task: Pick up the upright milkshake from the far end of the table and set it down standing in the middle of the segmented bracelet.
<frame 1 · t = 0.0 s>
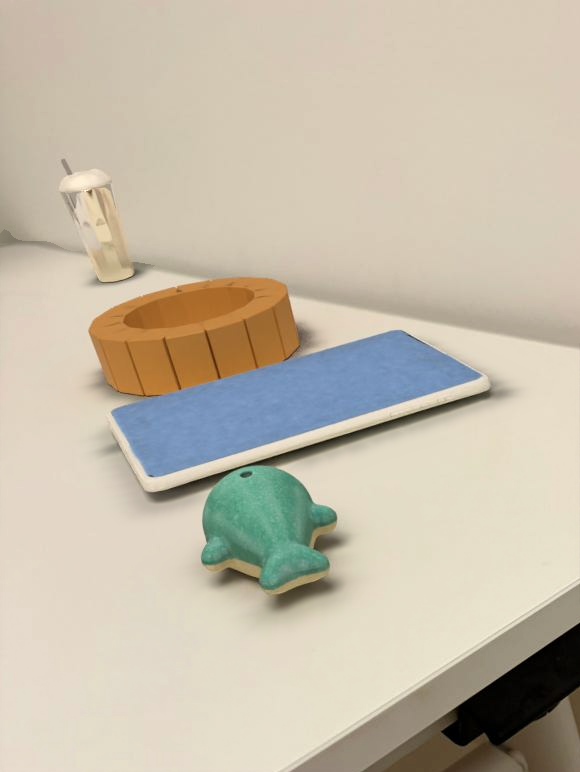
whale figurine: (280, 570, 38), on the table
milkshake: (116, 279, 86), on the table
tablet: (298, 417, 52), on the table
segmented bracelet: (205, 358, 63), on the table
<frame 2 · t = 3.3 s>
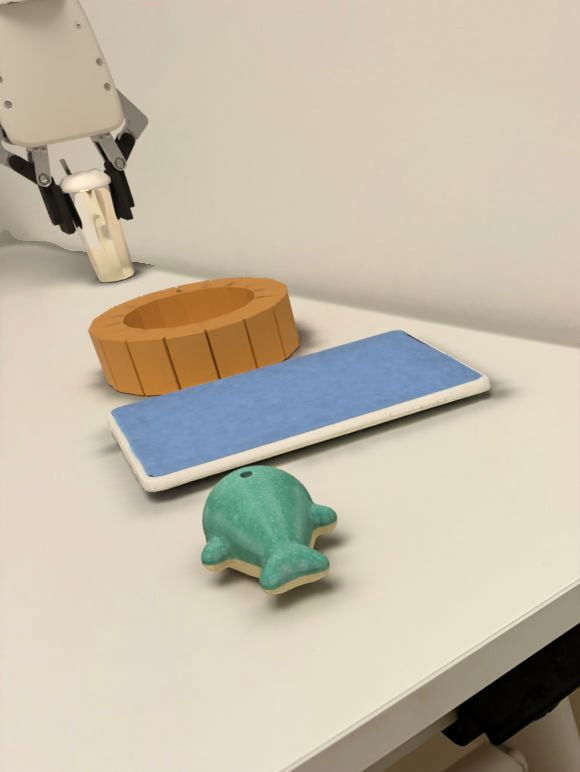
hand: (96, 223, 84), 5 cm above the table, tool pointing down, fingers closed on milkshake, 4 cm apart
milkshake: (116, 279, 86), on the table, touching gripper
everything else where it was.
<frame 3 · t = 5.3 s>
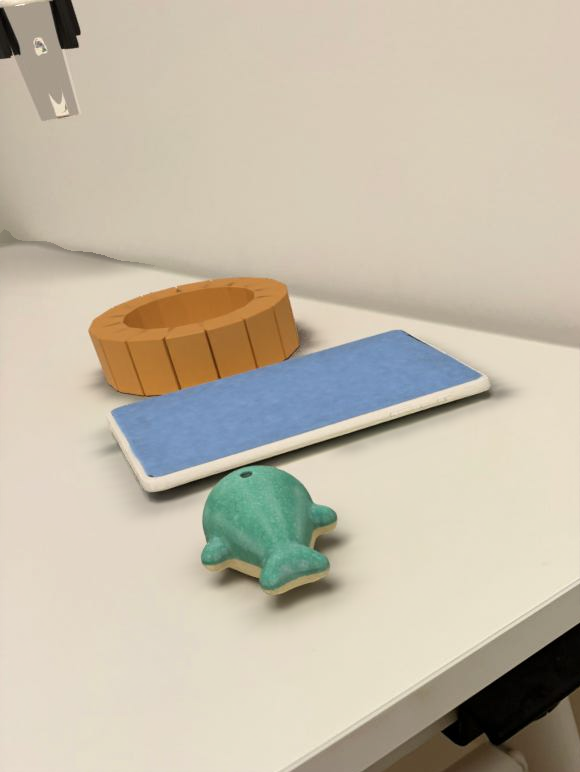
hand: (37, 50, 74), 18 cm above the table, tool pointing down, fingers closed on milkshake, 4 cm apart
milkshake: (60, 120, 77), point 13 cm above the table, touching gripper
everything else where it was.
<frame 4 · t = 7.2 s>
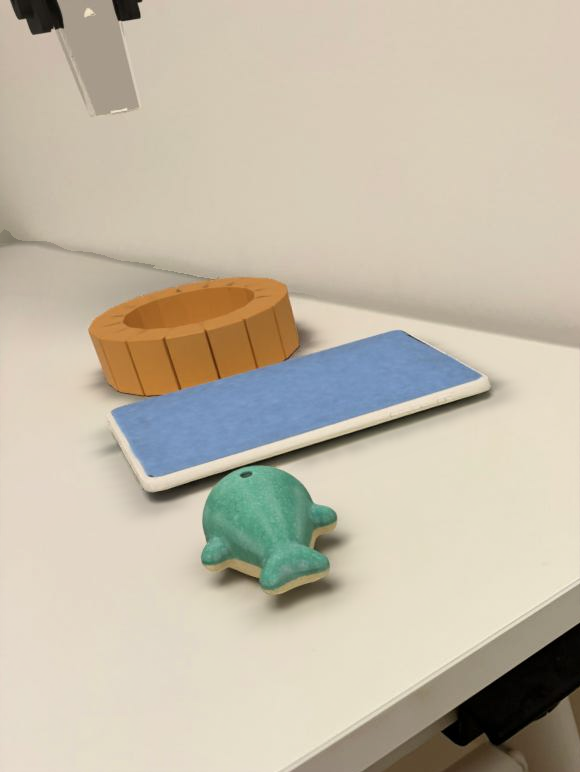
hand: (85, 22, 55), 19 cm above the table, tool pointing down, fingers closed on milkshake, 4 cm apart
milkshake: (114, 115, 58), point 14 cm above the table, touching gripper
everything else where it was.
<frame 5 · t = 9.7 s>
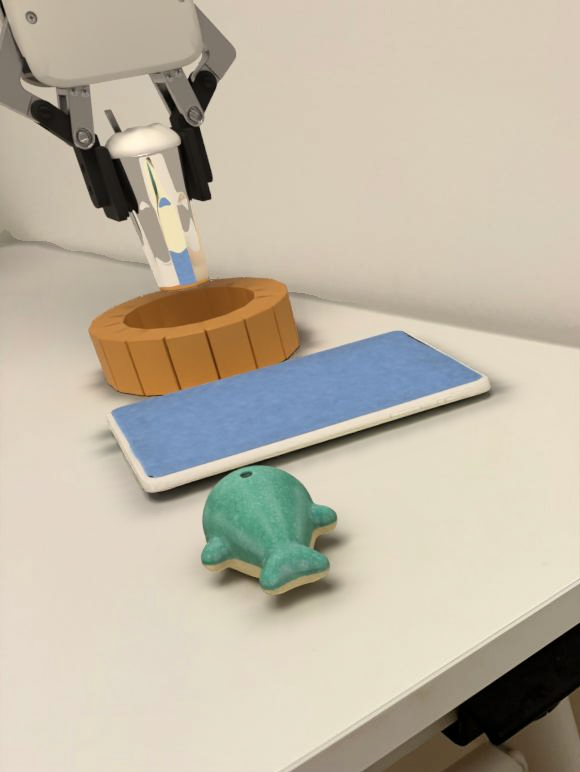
hand: (158, 205, 57), 10 cm above the table, tool pointing down, fingers closed on milkshake, 4 cm apart
milkshake: (182, 286, 60), point 5 cm above the table, touching gripper
everything else where it was.
when the fingers open (5 cm above the table, at t = 11.3 s): milkshake stays where it is, on the table.
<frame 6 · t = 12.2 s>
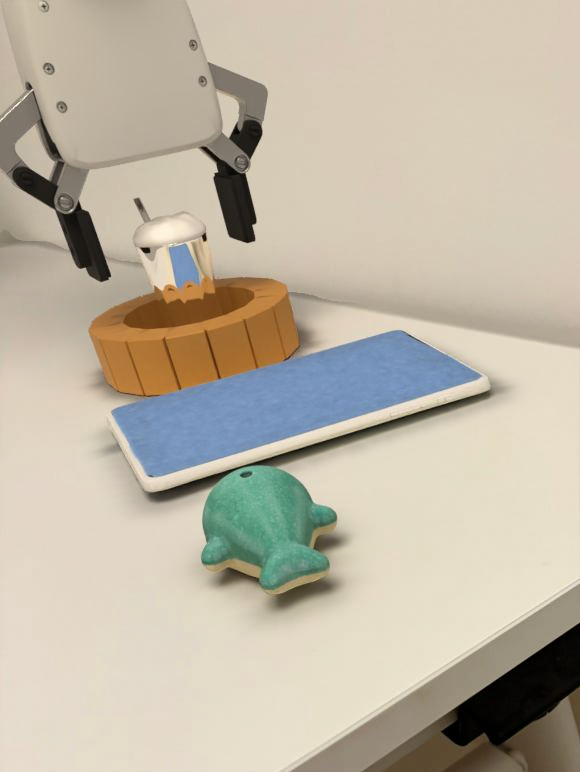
hand: (173, 258, 59), 7 cm above the table, tool pointing down, fingers open, 9 cm apart
milkshake: (205, 360, 63), on the table
everything else where it was.
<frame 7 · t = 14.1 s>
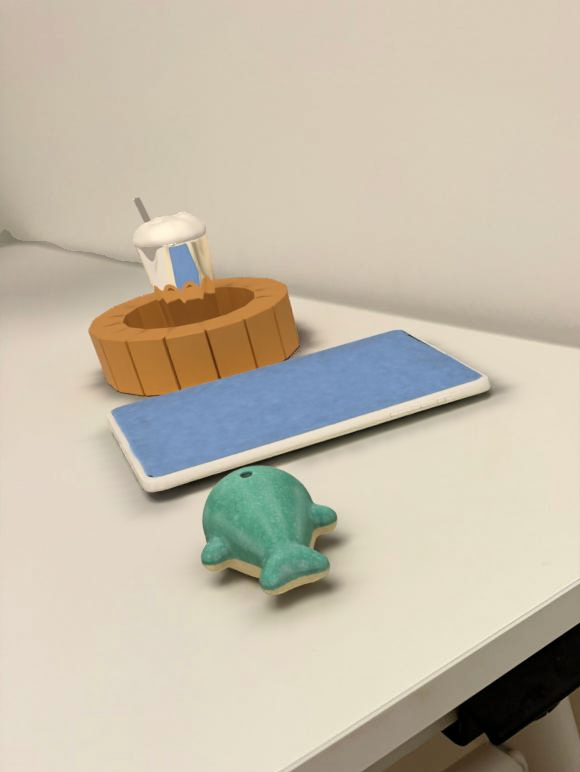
nothing on the table moved.
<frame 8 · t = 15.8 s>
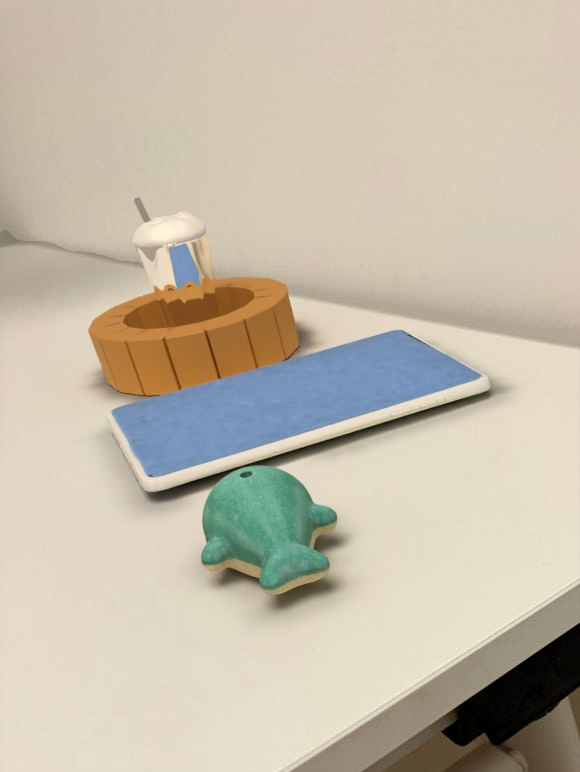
nothing on the table moved.
at the end: milkshake 0.1 cm off-centre on the segmented bracelet, point 0.0 cm above the segmented bracelet's base; milkshake tilted 0°; the gripper is holding nothing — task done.
